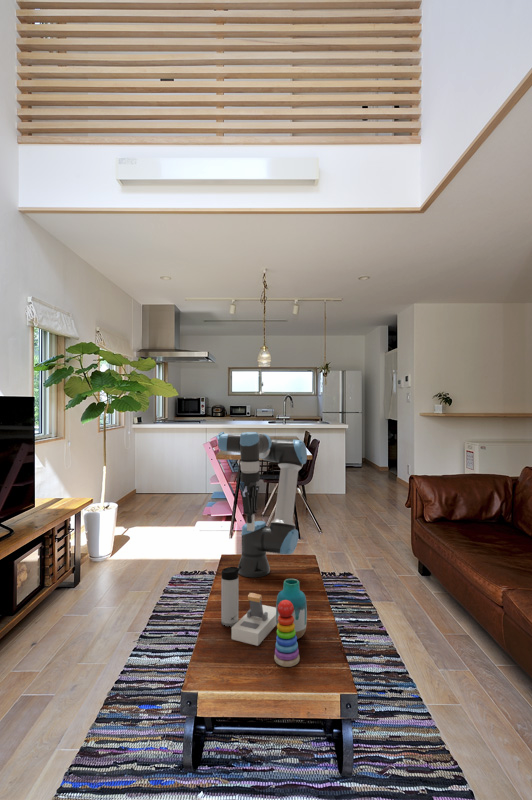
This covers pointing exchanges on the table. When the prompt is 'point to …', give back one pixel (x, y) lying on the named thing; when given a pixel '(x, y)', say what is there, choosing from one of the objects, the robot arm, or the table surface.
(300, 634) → the vase
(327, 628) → the table surface
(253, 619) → the switch box
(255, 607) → the lever
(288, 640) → the stacking toy
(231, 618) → the travel mug
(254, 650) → the table surface
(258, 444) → the robot arm
